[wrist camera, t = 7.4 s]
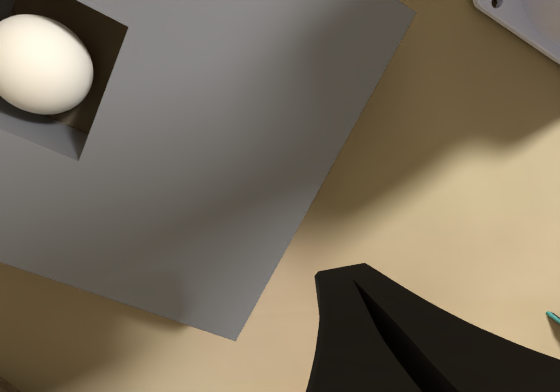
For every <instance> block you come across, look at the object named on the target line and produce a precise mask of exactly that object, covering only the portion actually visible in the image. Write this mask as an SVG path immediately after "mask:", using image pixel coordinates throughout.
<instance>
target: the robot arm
mask: <svg viewBox="0 0 560 392" xmlns="http://www.w3.org/2000/svg"><path fill="white" fill-rule="evenodd" d="M491 2H492V0H473V3H474V6H475V7H476V8H477V9H479V10H480V11H482V12H483V13H485V14H486V15H488V16H489V17H490V18H492V19H493V20H495V21H496V22H498V23H499V24H501V25H502V26H504V27H505V28H507V29H508V30H510V31H511V32H512V33H514V34H515V35H517V36H518V37H520V38H521V39H523V40H524V41H526V42H527V43H529V44H530V45H531V46H533V47H534V48H536V49H537V50H539V51H540V52H542V53H543V54H545V55H546V56H548V57H549V58H550V59H552V60H553V61H555V62H556V63H558V64H559V65H560V0H497V5H496V7H495V8H493V6H492V3H491ZM315 283H316V292H317V300H318V308H319V316H320V317H319V329H318V336H317V344H316V350H315V356H314V361H313V366H312V370H311V374H310V378H309V382H308V386H307V390H306V392H560V360H559V359H557V358H554V357H551V356H548V355H545V354H542V353H539V352H537V351H534V350H531V349H529V348H526V347H524V346H521V345H518V344H516V343H513V342H511V341H509V340H506V339H504V338H502V337H499V336H497V335H495V334H492V333H490V332H488V331H486V330H483V329H481V328H479V327H477V326H474V325H472V324H470V323H468V322H466V321H464V320H462V319H460V318H458V317H456V316H454V315H452V314H450V313H448V312H447V311H445V310H443V309H441V308H439V307H437V306H435V305H433V304H432V303H430V302H428V301H426V300H425V299H423V298H421V297H419V296H418V295H416V294H414V293H413V292H411V291H409V290H408V289H406V288H404V287H403V286H401V285H399V284H398V283H396V282H395V281H393V280H391V279H390V278H388V277H387V276H385V275H383V274H382V273H380V272H379V271H377V270H376V269H374V268H372V267H371V266H369V265H367V264H366V263H362V264H356V265H351V266H345V267H340V268H335V269H329V270H324V271H318V273H317V274H316V275H315Z"/></svg>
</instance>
